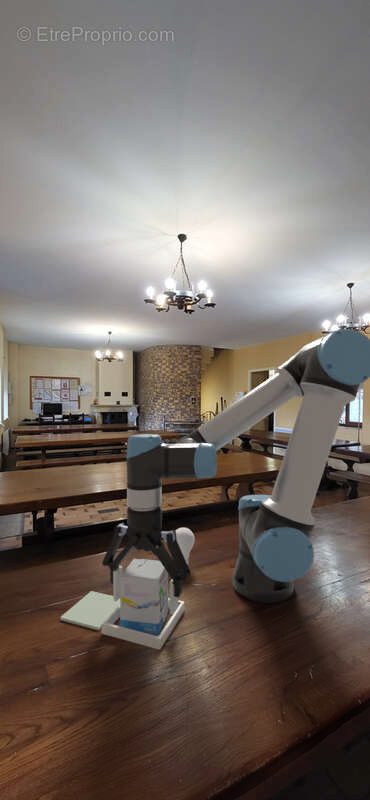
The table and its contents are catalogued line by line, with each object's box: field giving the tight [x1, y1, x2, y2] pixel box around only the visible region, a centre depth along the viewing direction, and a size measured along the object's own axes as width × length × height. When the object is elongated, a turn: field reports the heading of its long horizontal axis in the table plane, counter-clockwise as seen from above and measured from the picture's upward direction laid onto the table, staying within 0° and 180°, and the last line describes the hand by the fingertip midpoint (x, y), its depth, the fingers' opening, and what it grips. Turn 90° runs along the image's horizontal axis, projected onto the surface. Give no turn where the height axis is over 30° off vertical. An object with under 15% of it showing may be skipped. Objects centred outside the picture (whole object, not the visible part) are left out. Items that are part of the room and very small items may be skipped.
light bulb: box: [175, 527, 196, 565], centre depth 98 cm, size 7×7×11 cm
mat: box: [59, 590, 120, 631], centre depth 78 cm, size 10×11×1 cm
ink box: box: [119, 558, 169, 636], centre depth 74 cm, size 8×8×12 cm
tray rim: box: [101, 597, 186, 650], centre depth 74 cm, size 13×13×2 cm
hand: (145, 604), depth 74 cm, fingers open, 13 cm apart
